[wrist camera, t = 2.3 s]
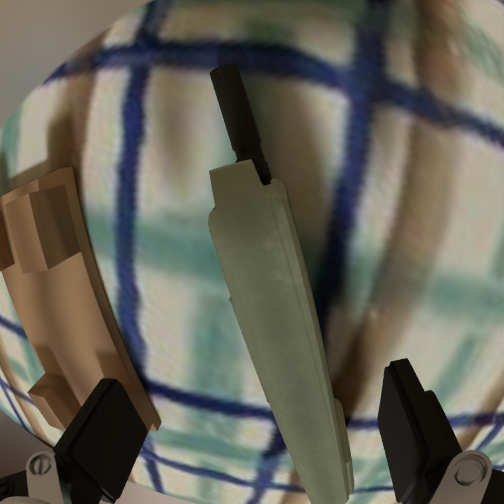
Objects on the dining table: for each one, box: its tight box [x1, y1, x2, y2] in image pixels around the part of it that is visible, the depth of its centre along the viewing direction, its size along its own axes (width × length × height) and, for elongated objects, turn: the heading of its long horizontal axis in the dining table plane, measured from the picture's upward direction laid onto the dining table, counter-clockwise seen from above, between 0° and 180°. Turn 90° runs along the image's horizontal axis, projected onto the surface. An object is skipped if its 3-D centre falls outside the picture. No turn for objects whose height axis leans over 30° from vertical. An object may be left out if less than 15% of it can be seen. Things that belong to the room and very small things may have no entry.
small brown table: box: [0, 166, 161, 434], centre depth 17 cm, size 10×20×4 cm, turn 10°
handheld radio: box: [208, 64, 354, 504], centre depth 13 cm, size 7×3×25 cm
